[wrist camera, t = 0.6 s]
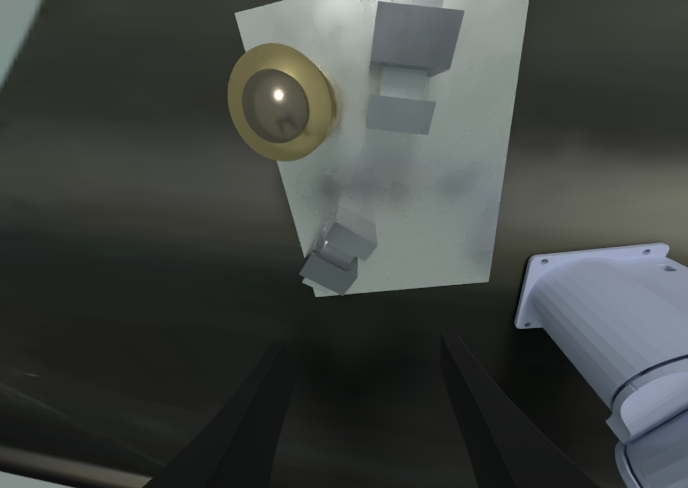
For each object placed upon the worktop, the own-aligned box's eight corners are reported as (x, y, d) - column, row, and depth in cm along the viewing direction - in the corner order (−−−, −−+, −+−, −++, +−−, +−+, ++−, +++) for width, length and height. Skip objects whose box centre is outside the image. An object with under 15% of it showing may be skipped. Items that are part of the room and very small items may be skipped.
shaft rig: (532, -61, 12) (601, -127, 8) (486, 278, 21) (509, 311, 18) (237, 15, 14) (198, -14, 10) (316, 293, 23) (308, 325, 20)
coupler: (335, 61, 14) (315, 25, 8) (346, 136, 16) (337, 155, 10) (269, 75, 15) (201, 53, 8) (287, 146, 16) (243, 171, 10)
